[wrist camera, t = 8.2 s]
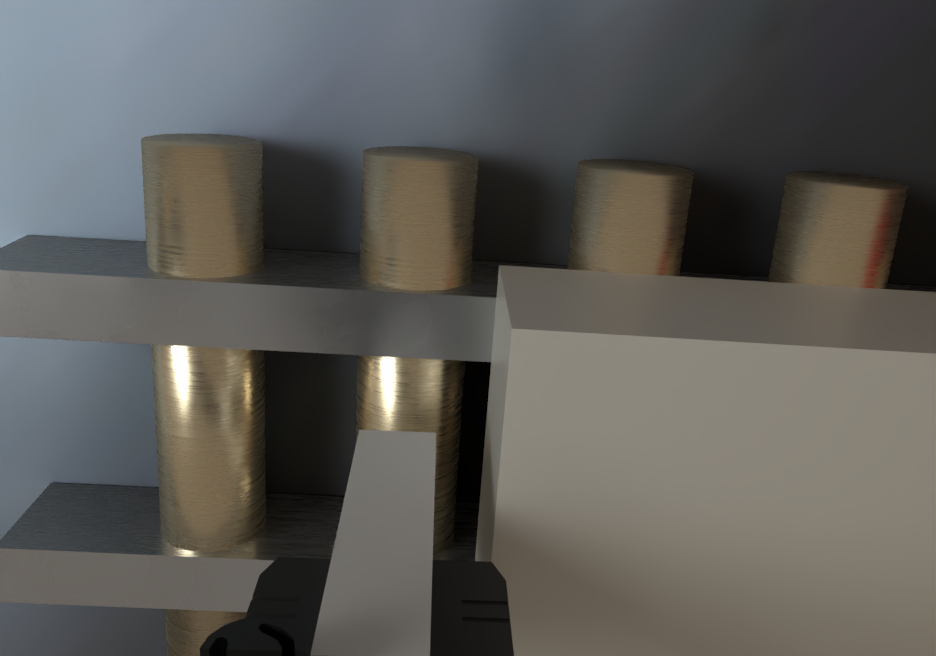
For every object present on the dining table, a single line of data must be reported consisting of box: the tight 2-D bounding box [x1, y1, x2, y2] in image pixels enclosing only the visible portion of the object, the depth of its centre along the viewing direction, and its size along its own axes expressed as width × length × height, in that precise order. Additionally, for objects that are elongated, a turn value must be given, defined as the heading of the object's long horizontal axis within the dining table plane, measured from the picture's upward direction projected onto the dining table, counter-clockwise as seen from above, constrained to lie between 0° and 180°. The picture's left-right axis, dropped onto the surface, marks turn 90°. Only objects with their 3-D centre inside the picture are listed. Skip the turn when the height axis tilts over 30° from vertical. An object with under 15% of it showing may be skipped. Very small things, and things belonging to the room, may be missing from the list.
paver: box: [475, 265, 936, 656], centre depth 18 cm, size 9×12×4 cm
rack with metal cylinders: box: [0, 134, 936, 656], centre depth 20 cm, size 14×27×5 cm, turn 86°
